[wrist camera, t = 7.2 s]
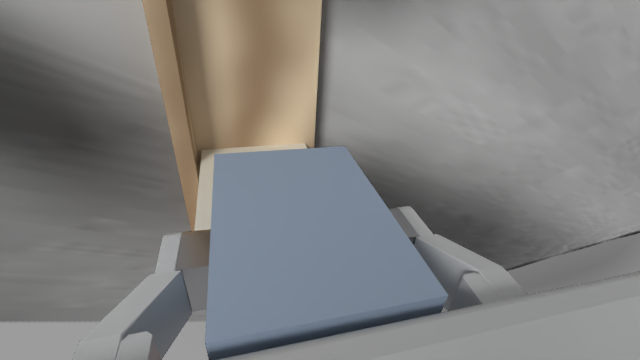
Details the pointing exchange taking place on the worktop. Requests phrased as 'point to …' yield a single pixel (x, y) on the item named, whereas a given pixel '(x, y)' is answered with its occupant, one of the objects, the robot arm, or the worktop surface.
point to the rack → (234, 76)
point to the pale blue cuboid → (305, 253)
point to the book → (207, 178)
